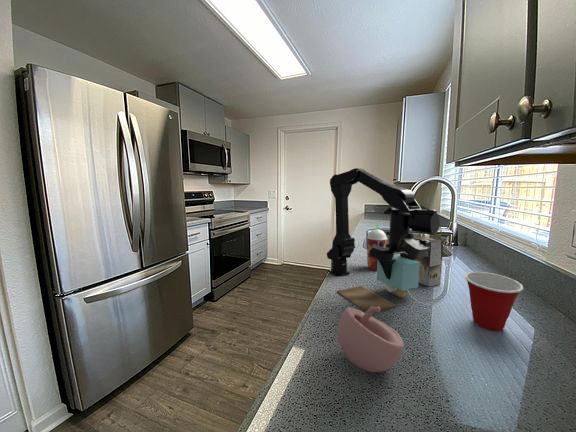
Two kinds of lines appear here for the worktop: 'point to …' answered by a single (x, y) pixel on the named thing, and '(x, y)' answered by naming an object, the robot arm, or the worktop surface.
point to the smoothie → (375, 245)
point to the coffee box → (431, 263)
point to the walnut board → (365, 298)
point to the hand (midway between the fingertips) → (396, 277)
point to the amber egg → (401, 293)
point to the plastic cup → (491, 298)
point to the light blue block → (401, 273)
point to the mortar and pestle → (368, 340)
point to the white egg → (390, 288)
